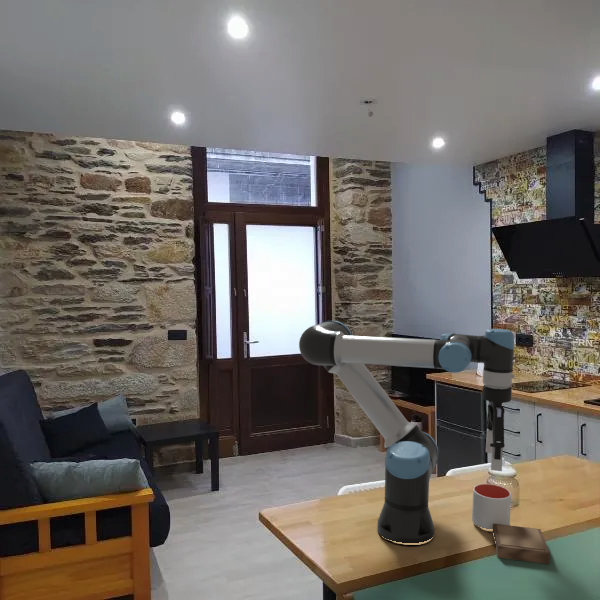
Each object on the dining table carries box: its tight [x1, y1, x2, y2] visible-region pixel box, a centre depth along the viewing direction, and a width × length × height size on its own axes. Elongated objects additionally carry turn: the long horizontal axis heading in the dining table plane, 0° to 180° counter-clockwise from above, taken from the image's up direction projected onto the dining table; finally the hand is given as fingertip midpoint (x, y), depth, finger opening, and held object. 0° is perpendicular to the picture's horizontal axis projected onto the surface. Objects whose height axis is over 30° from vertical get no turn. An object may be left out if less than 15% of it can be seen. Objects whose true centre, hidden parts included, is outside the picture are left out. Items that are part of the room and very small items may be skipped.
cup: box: [471, 483, 512, 529], centre depth 155 cm, size 10×10×10 cm
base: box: [493, 524, 551, 565], centre depth 144 cm, size 12×12×3 cm
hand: (493, 461), depth 154 cm, fingers open, 13 cm apart
